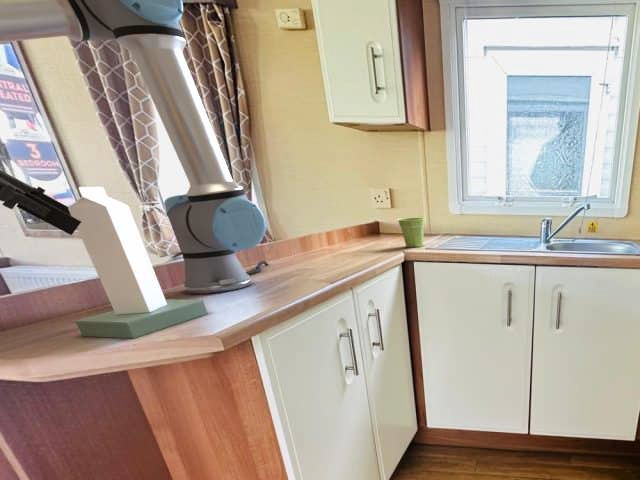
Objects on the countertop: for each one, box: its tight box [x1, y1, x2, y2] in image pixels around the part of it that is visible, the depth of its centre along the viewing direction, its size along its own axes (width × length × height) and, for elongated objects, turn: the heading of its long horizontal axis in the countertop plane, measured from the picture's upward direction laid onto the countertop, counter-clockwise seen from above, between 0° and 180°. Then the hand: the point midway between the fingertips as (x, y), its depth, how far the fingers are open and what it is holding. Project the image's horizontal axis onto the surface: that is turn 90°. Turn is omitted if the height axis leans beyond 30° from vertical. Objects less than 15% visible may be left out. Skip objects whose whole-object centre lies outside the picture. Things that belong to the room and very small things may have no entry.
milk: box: [68, 186, 167, 315], centre depth 78 cm, size 6×6×22 cm
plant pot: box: [396, 217, 427, 248], centre depth 180 cm, size 12×12×11 cm
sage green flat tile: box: [74, 298, 208, 339], centre depth 84 cm, size 16×12×3 cm
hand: (81, 226), depth 74 cm, fingers open, 13 cm apart
